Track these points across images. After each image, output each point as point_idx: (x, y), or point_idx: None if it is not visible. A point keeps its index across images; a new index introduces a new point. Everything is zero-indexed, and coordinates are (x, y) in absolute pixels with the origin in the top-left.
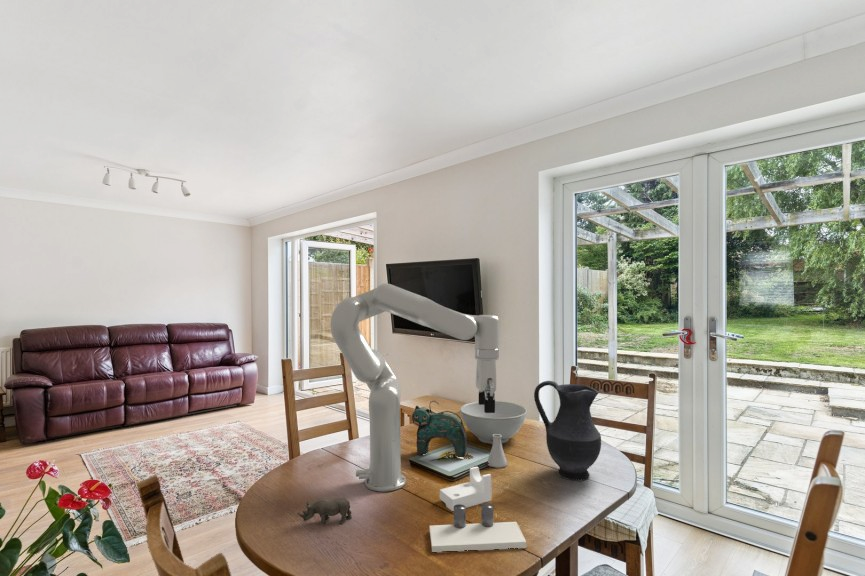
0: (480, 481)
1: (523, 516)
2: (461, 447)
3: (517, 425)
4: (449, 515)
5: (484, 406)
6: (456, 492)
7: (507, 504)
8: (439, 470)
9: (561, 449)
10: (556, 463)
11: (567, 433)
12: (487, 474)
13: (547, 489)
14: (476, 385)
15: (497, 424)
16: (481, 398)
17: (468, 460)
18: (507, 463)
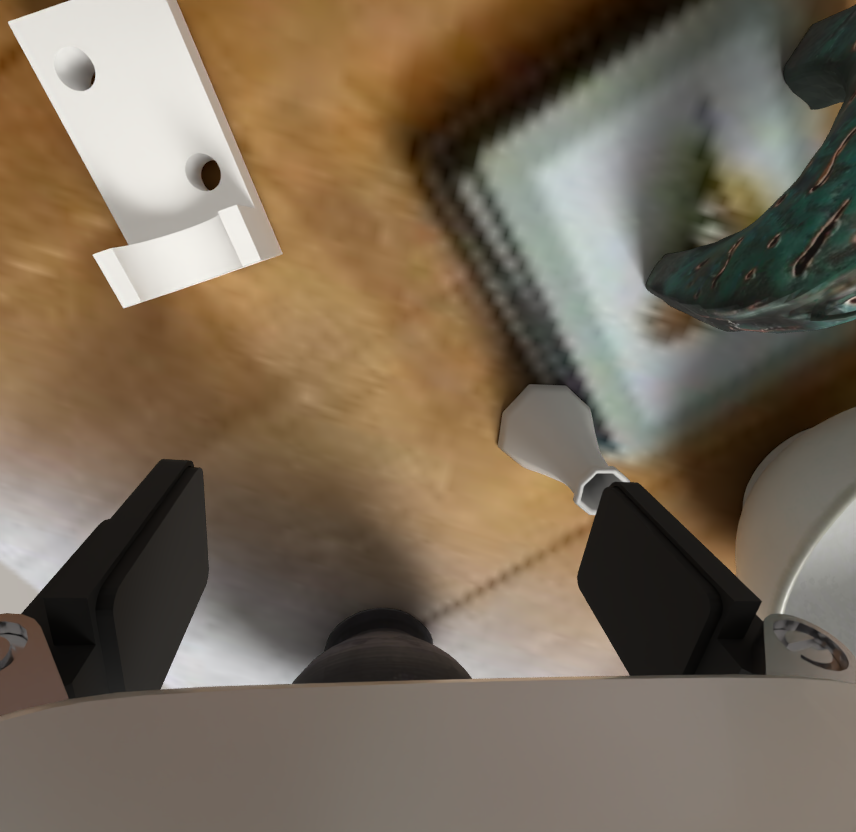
0: (144, 242)
1: (25, 378)
2: (682, 283)
3: None
4: (5, 13)
5: (136, 505)
6: (112, 80)
7: (136, 348)
8: (559, 115)
9: None
10: (375, 634)
11: None
12: (129, 288)
13: (266, 534)
14: (799, 725)
15: (774, 539)
16: (641, 561)
17: (626, 310)
18: (522, 466)
